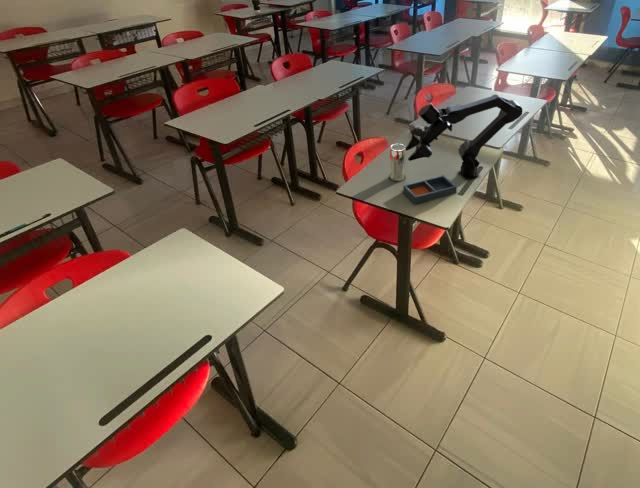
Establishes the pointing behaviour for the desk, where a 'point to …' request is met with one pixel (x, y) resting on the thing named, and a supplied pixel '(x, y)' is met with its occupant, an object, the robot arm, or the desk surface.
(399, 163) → the beer glass
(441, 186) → the divided tray
